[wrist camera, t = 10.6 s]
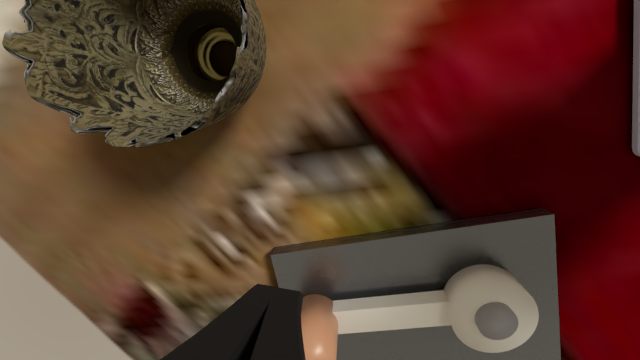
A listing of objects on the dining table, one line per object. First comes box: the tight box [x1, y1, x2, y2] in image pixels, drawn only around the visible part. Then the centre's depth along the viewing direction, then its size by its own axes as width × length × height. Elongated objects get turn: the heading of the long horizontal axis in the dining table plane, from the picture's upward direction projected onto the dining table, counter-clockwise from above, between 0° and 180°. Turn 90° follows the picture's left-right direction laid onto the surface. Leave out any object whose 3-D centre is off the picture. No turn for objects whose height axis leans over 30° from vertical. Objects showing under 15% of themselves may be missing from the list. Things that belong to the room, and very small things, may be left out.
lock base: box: [270, 208, 561, 360], centre depth 18 cm, size 16×16×1 cm
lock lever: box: [301, 264, 539, 360], centre depth 15 cm, size 4×12×4 cm, turn 100°
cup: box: [2, 0, 266, 148], centre depth 12 cm, size 8×7×8 cm
